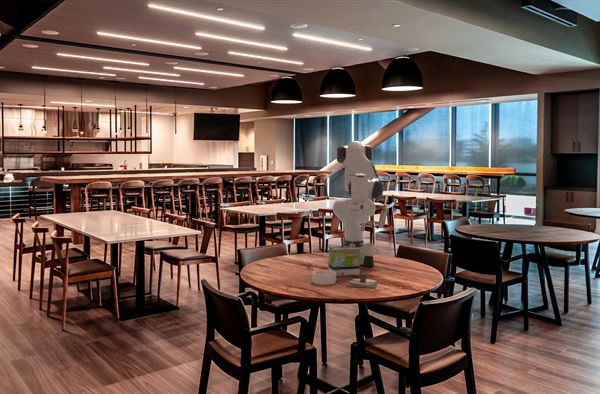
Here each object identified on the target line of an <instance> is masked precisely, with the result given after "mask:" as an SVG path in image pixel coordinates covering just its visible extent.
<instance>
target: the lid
mask: <svg viewBox="0 0 600 394" xmlns="http://www.w3.org/2000/svg"><path fill="white" fill-rule="evenodd" d="M351 279H352V280H351ZM351 279H350V280H349V282H350V284H352V285H356V286H372V285H375V284H376V281H377V280H376V281H374V280H375V279H370V278H367V273H365V272H359V278H351Z"/></svg>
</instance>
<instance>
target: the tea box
mask: <svg viewBox="0 0 600 394" xmlns="http://www.w3.org/2000/svg"><path fill="white" fill-rule="evenodd" d="M360 267H361V266H360V249H358V248H356V247H354V246H346V247H344V246H329V247H328V269H327V270H331V271H335V272H336V277H338V276H339V277H342V276H360Z"/></svg>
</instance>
